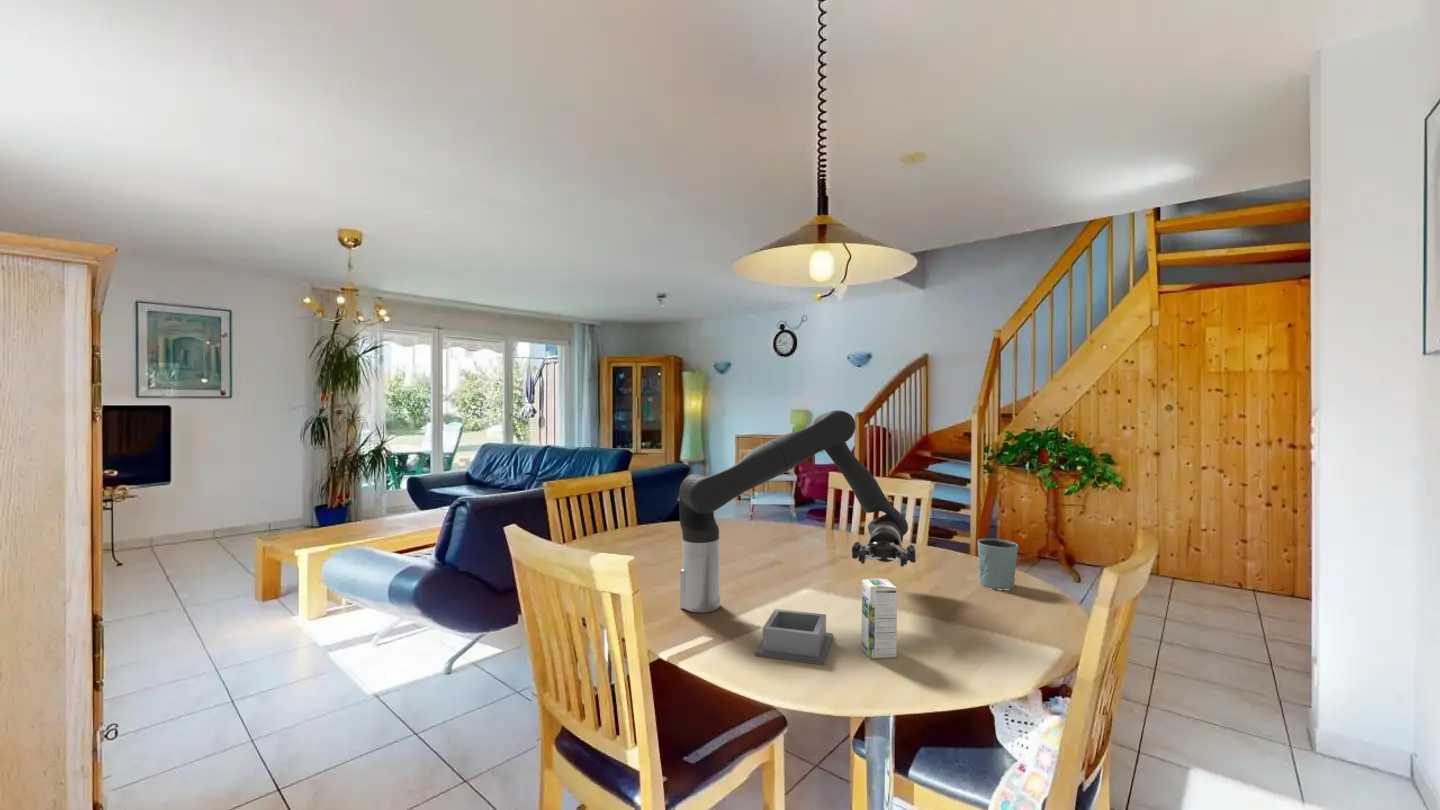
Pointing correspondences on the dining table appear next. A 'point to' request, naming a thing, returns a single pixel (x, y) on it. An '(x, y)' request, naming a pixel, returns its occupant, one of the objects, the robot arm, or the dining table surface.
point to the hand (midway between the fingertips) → (882, 560)
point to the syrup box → (879, 618)
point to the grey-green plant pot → (997, 563)
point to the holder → (795, 637)
